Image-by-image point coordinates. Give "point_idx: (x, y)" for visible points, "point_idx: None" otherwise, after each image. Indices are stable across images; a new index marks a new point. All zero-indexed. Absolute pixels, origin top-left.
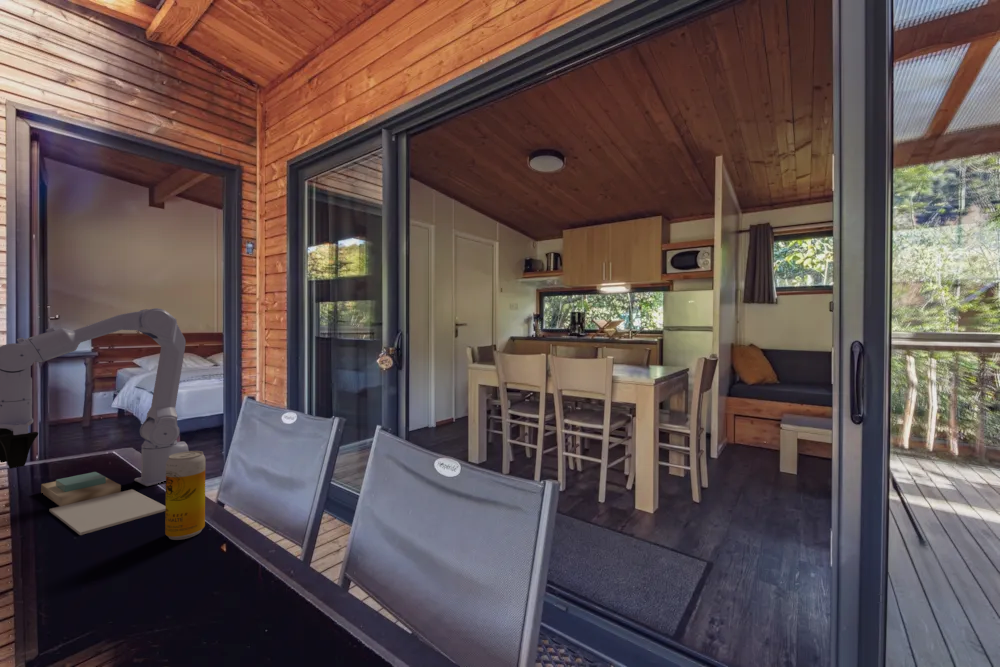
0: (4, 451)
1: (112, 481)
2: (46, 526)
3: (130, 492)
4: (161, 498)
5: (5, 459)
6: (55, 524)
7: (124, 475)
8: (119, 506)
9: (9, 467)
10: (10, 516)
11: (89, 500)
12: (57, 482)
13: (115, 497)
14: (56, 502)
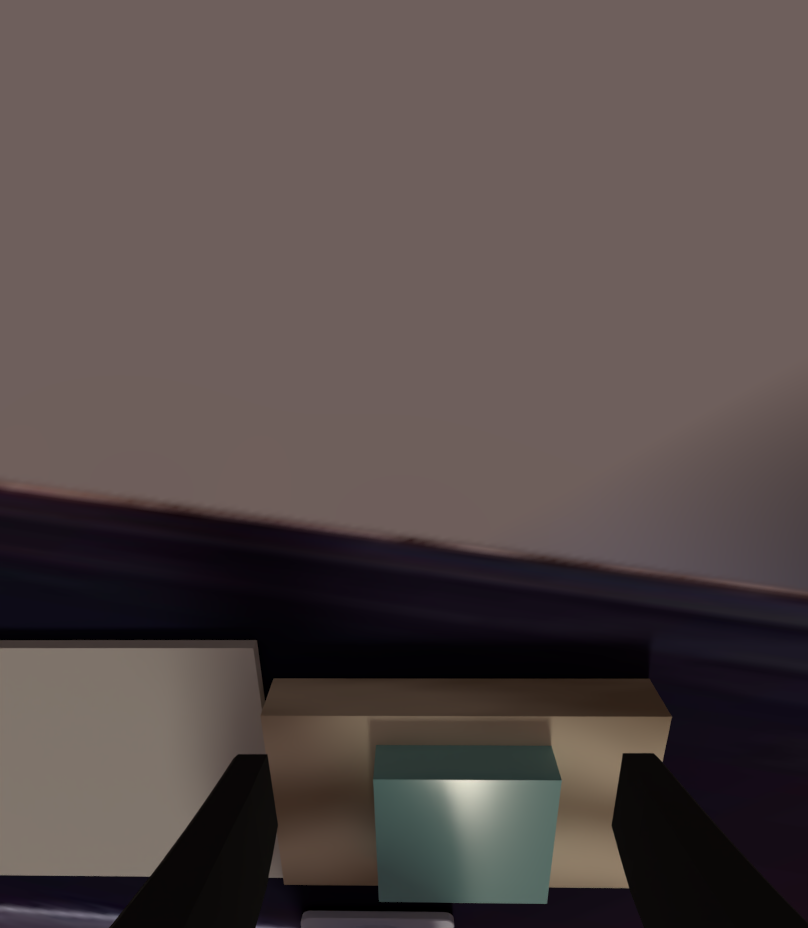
0: (683, 902)
1: None
2: (20, 592)
3: None
4: (84, 889)
5: (626, 801)
6: (22, 617)
7: (598, 912)
8: (50, 797)
9: (237, 761)
10: (323, 531)
11: None
12: (524, 770)
13: None
14: (361, 683)
